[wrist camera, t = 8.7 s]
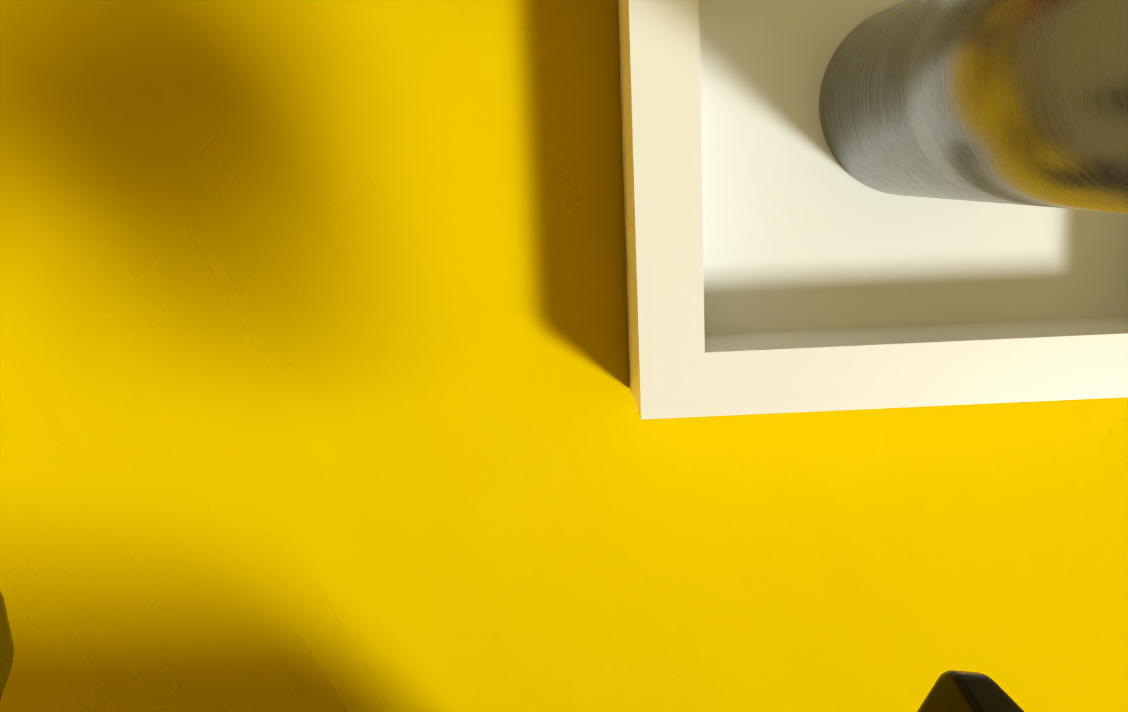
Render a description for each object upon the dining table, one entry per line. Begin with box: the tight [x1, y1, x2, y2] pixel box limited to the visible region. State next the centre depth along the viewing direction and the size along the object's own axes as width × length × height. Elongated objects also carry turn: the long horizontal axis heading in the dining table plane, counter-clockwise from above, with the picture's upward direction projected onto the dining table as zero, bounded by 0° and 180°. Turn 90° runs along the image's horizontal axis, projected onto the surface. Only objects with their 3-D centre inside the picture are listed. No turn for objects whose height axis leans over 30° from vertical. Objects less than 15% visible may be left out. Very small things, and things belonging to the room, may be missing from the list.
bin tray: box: [618, 0, 1128, 419], centre depth 18 cm, size 11×11×2 cm
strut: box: [819, 0, 1128, 213], centre depth 14 cm, size 4×4×11 cm
